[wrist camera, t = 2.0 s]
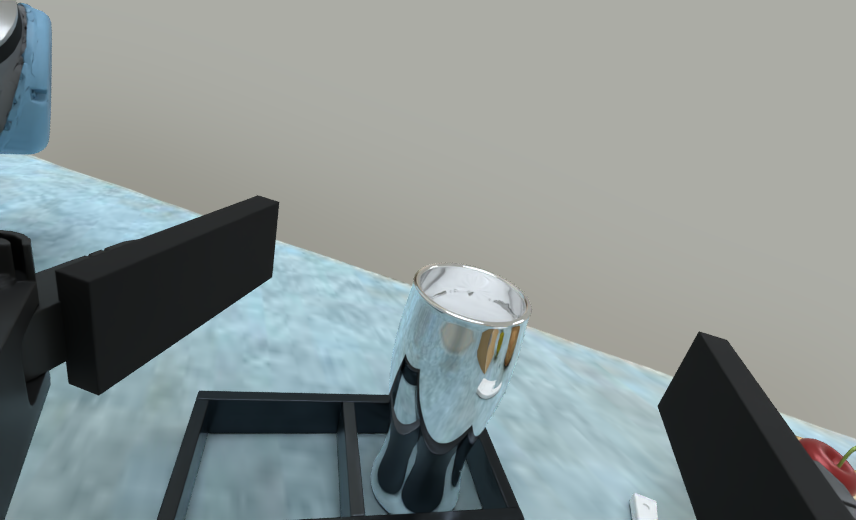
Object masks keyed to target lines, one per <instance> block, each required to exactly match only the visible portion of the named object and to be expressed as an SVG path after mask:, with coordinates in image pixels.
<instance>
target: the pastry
mask: <svg viewBox="0 0 856 520" xmlns="http://www.w3.org/2000/svg"><path fill="white" fill-rule="evenodd" d="M795 436H796V435H795ZM796 437H797V439H798V440H799V441H800V443H801V444H802V446H803V447H804V448H805V450H806V451H807V453H808V454H809V455H810V457H811V458H812V460H815V461H818V462H820V463H821V464H822V465H823V466H824V467H825V468H826V469H827V470H828V471H829V472H831V473H832V474H833V475H834V476H835V477H836V478H837V479H838V480H839V481H840V482H841V483H843V484H844V486H845V487H846V488H847V490H848V491H849V492H850V494H851V495H852V496H853V498H854V499H855V500H856V470H854V469H853V468H852V466H851V465H850V464H849V462H848V461H847V460H846V459H847V458H848V457H849V456H850V455H851V454H852V453H853V452H854V451H856V446H854V447H852V448H851V449H850V450H849V451H848V452H847V453H846V454H845V455H844V457H843V456H842V455H841V454H840V453H838V452H837V451H836V450H835V449H833V448H832V447H830V446H829V445H827V444H825V443H823V442H821V441H819V440H816V439H810V438H801V437H798V436H796Z"/></svg>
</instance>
